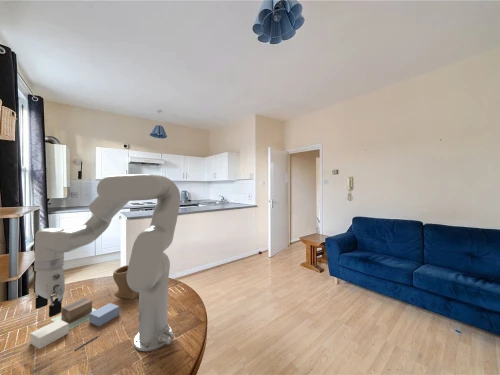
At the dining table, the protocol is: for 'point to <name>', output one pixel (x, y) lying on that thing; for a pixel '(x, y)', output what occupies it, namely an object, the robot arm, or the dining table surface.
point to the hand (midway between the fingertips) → (48, 310)
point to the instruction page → (85, 344)
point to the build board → (74, 321)
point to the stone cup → (123, 284)
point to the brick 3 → (104, 314)
